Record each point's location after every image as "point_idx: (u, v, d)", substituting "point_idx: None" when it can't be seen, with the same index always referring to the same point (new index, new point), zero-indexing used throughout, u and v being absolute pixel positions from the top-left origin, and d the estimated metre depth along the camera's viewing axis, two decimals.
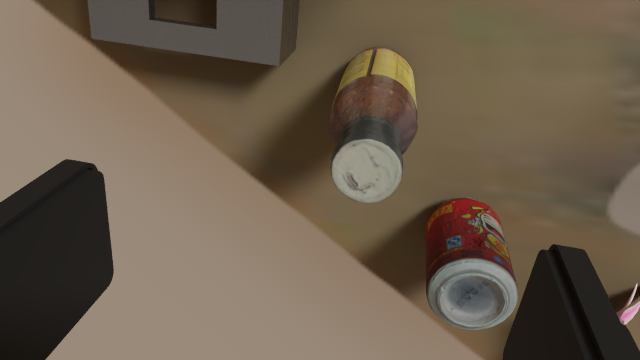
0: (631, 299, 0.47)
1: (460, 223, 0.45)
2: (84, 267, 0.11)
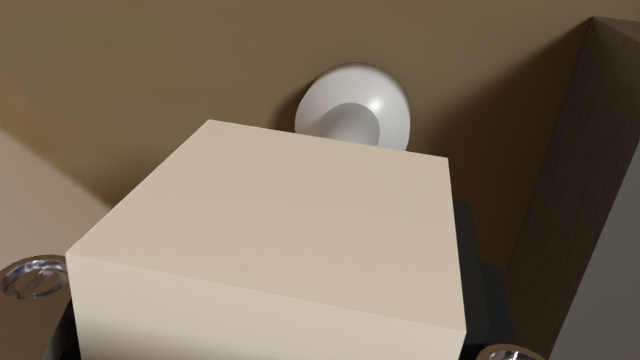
0: None
1: None
2: None
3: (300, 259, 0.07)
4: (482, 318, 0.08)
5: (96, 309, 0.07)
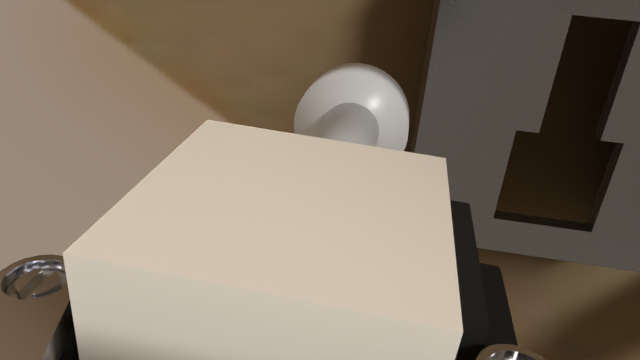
0: None
1: None
2: None
3: (297, 259, 0.07)
4: (482, 318, 0.08)
5: (93, 309, 0.07)
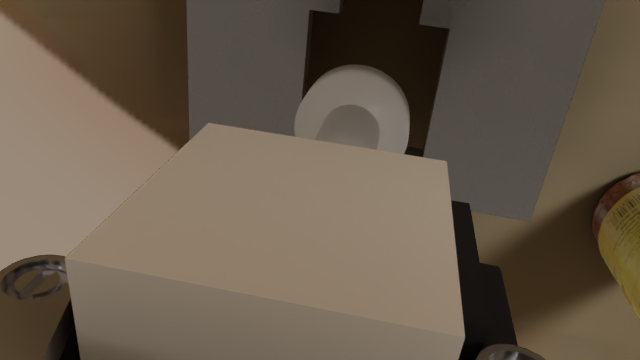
0: None
1: None
2: None
3: (299, 263, 0.07)
4: (482, 318, 0.08)
5: (96, 313, 0.07)
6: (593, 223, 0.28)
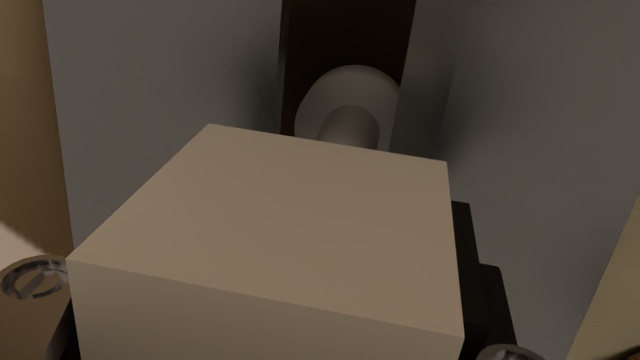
0: None
1: None
2: None
3: (299, 264, 0.07)
4: (482, 318, 0.08)
5: (97, 314, 0.07)
6: None
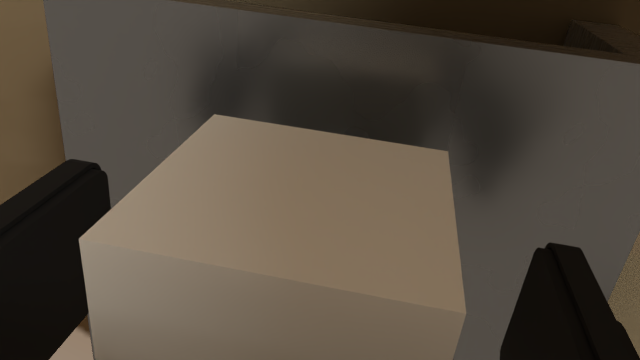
0: None
1: None
2: None
3: (306, 245, 0.07)
4: None
5: (108, 293, 0.07)
6: None
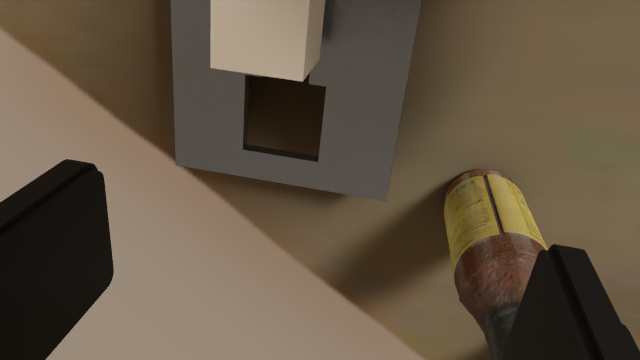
0: None
1: None
2: (84, 267, 0.11)
3: None
4: None
5: None
6: (444, 205, 0.43)
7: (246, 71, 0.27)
